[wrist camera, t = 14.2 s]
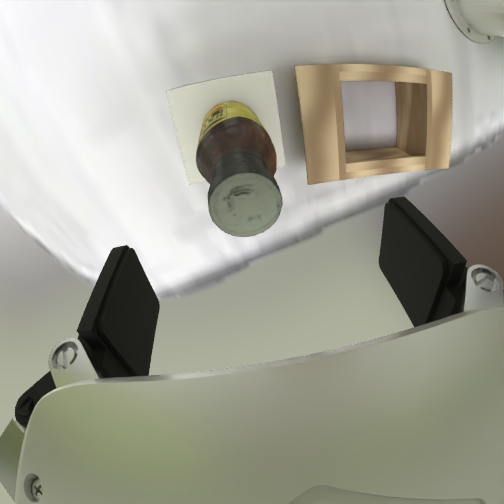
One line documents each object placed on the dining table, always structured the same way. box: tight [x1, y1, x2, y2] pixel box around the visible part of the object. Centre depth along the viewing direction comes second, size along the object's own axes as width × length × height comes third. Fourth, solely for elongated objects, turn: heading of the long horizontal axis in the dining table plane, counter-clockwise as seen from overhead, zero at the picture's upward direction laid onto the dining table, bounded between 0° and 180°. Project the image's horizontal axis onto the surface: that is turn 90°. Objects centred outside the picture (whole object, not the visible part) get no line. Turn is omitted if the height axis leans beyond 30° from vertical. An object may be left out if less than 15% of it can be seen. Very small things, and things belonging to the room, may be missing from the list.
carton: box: [295, 64, 452, 185], centre depth 29 cm, size 20×13×7 cm, turn 99°
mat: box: [166, 71, 286, 185], centre depth 32 cm, size 12×12×1 cm
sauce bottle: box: [196, 101, 282, 237], centre depth 23 cm, size 6×6×20 cm
